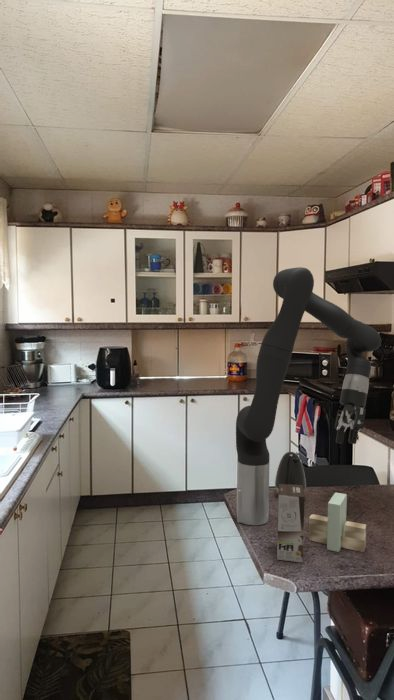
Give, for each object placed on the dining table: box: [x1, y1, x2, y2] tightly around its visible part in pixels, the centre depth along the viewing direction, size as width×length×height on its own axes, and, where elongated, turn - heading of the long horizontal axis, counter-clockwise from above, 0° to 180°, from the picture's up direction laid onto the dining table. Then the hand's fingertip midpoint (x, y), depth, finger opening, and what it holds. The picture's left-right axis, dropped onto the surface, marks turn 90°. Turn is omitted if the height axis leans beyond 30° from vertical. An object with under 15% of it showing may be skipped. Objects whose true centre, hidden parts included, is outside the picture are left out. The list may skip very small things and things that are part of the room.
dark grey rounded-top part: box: [274, 451, 307, 493], centre depth 155 cm, size 10×10×15 cm
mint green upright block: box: [326, 491, 348, 553], centre depth 121 cm, size 9×3×12 cm, turn 152°
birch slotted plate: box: [308, 513, 367, 553], centre depth 121 cm, size 14×3×6 cm, turn 62°
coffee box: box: [276, 484, 306, 563], centre depth 116 cm, size 9×6×16 cm
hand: (345, 443), depth 139 cm, fingers open, 8 cm apart
